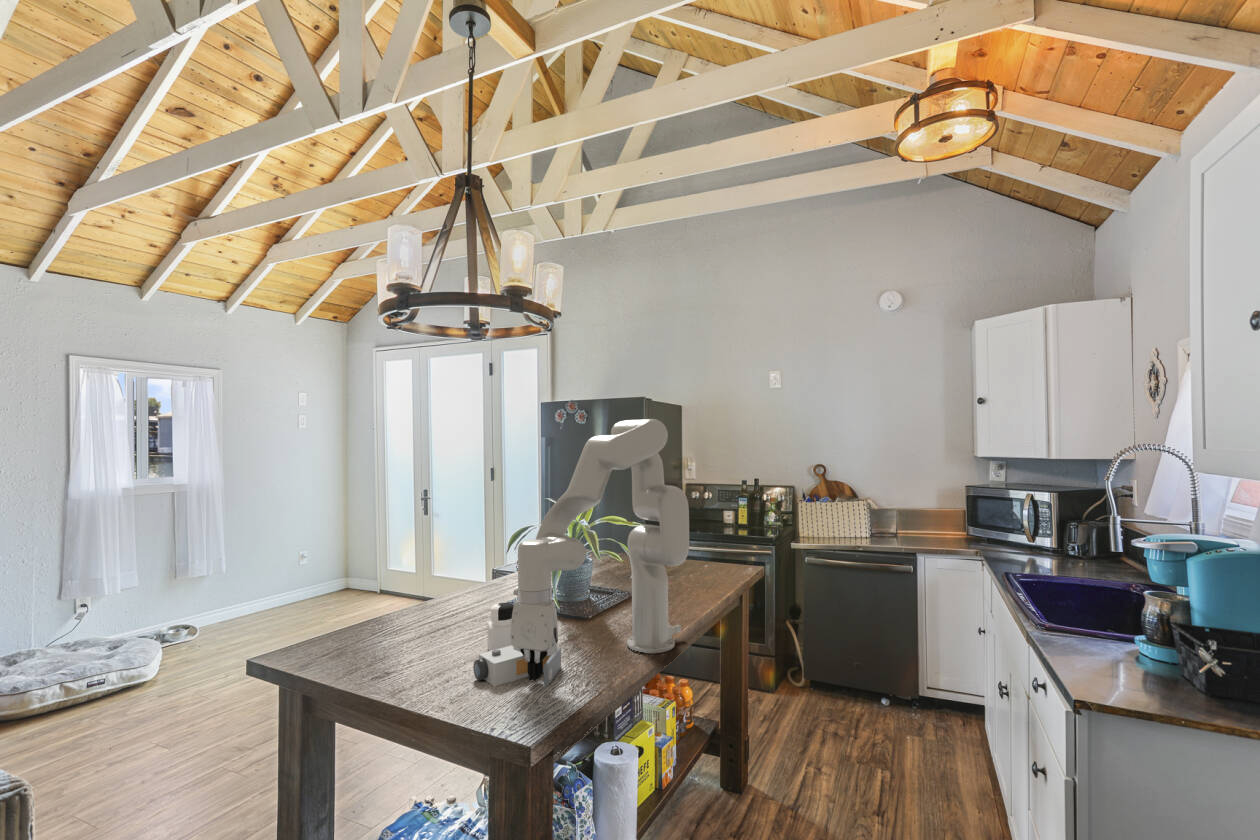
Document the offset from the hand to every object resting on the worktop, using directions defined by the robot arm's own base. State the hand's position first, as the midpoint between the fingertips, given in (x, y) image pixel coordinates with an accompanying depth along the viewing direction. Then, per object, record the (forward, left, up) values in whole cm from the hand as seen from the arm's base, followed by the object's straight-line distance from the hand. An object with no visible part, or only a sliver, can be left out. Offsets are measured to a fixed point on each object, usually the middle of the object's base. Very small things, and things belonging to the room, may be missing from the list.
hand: (535, 678), depth 132 cm
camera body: (0, -9, -1) cm, 9 cm away
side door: (-5, 0, -1) cm, 5 cm away
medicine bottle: (-4, -24, -1) cm, 24 cm away
